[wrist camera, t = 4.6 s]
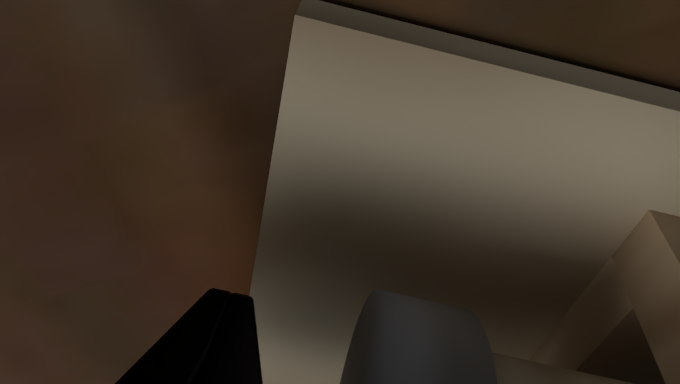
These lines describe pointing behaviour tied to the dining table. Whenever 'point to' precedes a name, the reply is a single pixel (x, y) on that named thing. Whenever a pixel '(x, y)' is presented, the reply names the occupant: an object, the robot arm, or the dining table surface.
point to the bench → (467, 200)
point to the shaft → (437, 348)
